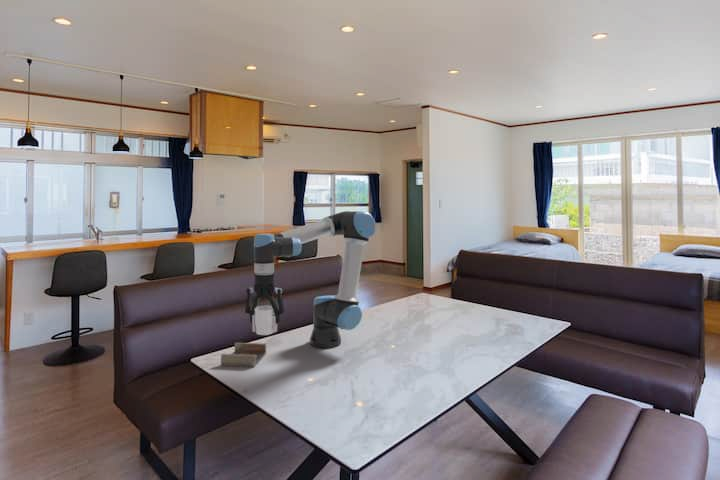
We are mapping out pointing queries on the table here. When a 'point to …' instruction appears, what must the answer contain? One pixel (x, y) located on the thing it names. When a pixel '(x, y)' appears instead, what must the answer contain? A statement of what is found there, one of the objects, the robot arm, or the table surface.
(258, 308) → the white cup
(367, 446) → the table surface
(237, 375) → the table surface
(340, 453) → the table surface
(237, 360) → the port dock
